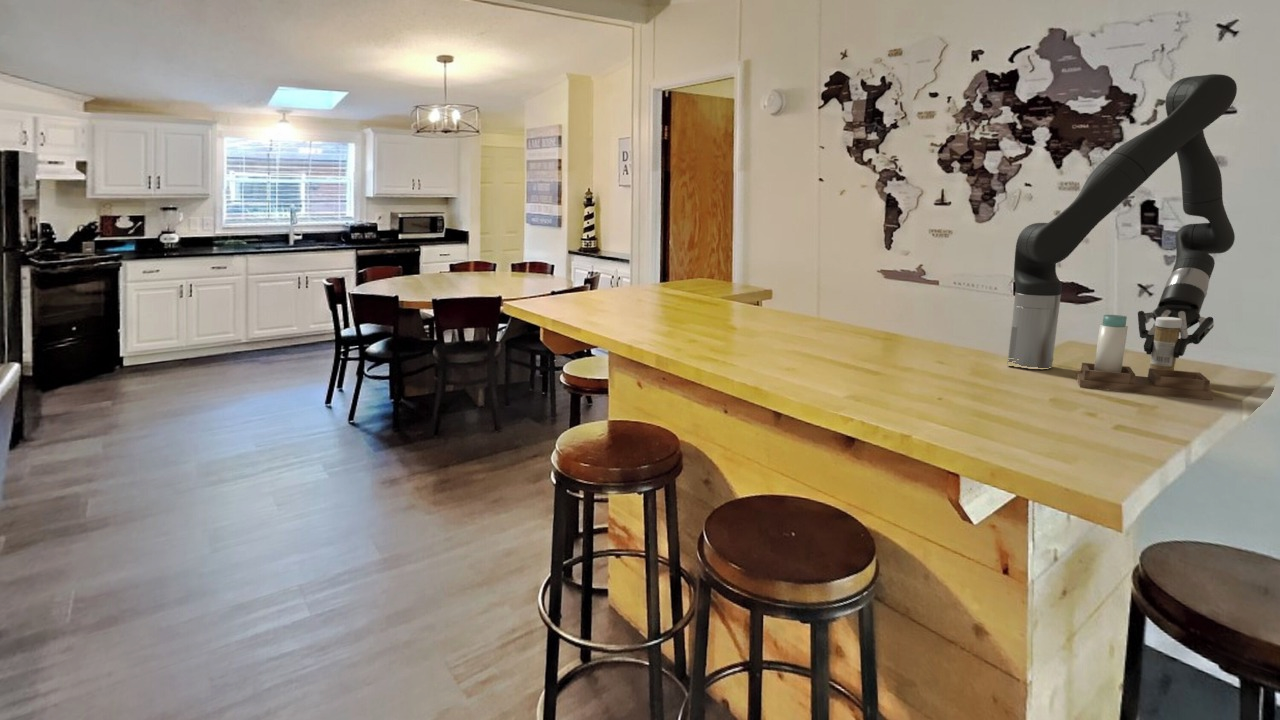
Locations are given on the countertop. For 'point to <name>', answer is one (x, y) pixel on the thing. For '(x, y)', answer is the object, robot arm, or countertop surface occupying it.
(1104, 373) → the pocket board
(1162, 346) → the sprinkles bottle
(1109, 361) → the bottle
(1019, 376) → the countertop surface
